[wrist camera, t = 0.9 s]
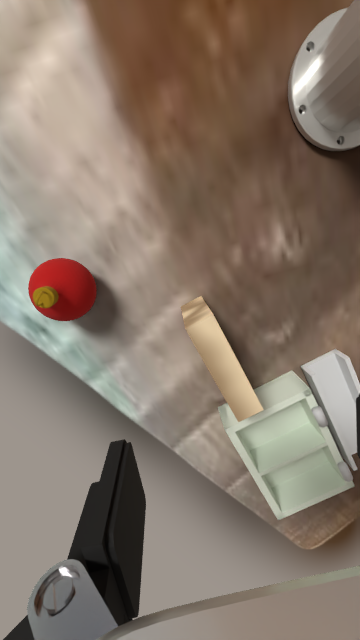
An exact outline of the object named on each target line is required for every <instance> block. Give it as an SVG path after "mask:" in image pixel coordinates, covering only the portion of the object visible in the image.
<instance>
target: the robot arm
mask: <svg viewBox="0 0 360 640" xmlns="http://www.w3.org/2000/svg"><path fill="white" fill-rule="evenodd" d="M288 100H289V108H290V112H291V115H292V118H293V121H294V123H295V125H296V126H297V128H298V130H299V131H300V133H301V134H302V135H303V136H304V137H305V139H307V140H308V141H309V142H310V143H312V144H313V145H315V146H317V147H319V148H321V149H324V150H329V151H345V150H349V149H353V148H355V147H357V146H360V0H354V1H353V2H352V4H351V5H350V6H349V8H345V9H341V10H339V11H337V12H335V13H333V14H331V15H329V16H328V17H326V18H325V19H324V20H322V21H321V22H320V23H319V24H318V25H317V26H316V27H315V28H314V29H313V30H312V31H311V32H310V34H309V35H308V37H307V38H306V40H305V41H304V42H303V44H302V46H301V47H300V49H299V51H298V53H297V55H296V57H295V59H294V62H293V65H292V68H291V72H290V77H289V82H288ZM299 111H300V113H301V114H300V113H299ZM337 142H338V143H337ZM356 427H357V454H358V456H359V458H360V394H359V397H357V398H356ZM145 510H146V500H145V494H144V490H143V486H142V482H141V478H140V475H139V471H138V467H137V463H136V460H135V456H134V452H133V448H132V445H131V443H130V442H129V443H127V442H126V441H125V440H120V441H115V442H111V443H110V446H109V449H108V453H107V456H106V460H105V464H104V468H103V471H102V474H101V478H100V481H99V482H95V483H92V484H91V486H90V489H89V492H88V495H87V498H86V501H85V505H84V508H83V511H82V514H81V517H80V521H79V524H78V527H77V530H76V533H75V536H74V540H73V543H72V546H71V549H70V553H69V556H68V559H67V560H64V561H62V562H59V563H57V564H56V565H54V566H53V567H52V568H50V569H49V570H48V571H47V572H46V573H45V574H44V575H43V576H42V577H41V578H40V580H39V581H38V583H37V584H36V585H35V587H34V589H33V591H32V594H31V596H30V598H29V602H28V607H27V612H28V615H27V616H26V617H25V618H24V619H23V620H22V621H21V622H20V623H19V624H18V625H17V626H16V627H15V628H14V629H13V630H12V631H11V632H10V633H9V634H8V635H7V636H6V637H5V638H4V639H3V640H360V566H357V567H352V568H347V569H343V570H337V571H333V572H328V573H324V574H319V575H314V576H309V577H305V578H301V579H296V580H291V581H287V582H282V583H277V584H273V585H268V586H264V587H259V588H255V589H250V590H246V591H241V592H236V593H232V594H228V595H223V596H218V597H214V598H210V599H206V600H202V601H198V602H194V603H190V604H186V605H182V606H177V607H173V608H169V609H165V610H162V611H159V612H155V613H152V614H149V615H146V616H142V617H140V618H137V619H135V620H132V618H135V617H137V616H138V612H139V599H140V585H141V569H142V555H143V540H144V524H145Z"/></svg>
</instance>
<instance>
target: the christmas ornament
mask: <svg viewBox="0 0 360 640" xmlns="http://www.w3.org/2000/svg"><path fill="white" fill-rule="evenodd" d="M28 289H29V296H30V299H31V301H32V303H33V305H34V306H35V308H36V309H37V310H38V311H39V312H40V313H42V314H43V315H44V316H46V317H48V318H51V319H54V320H58V321H70V320H74V319H77V318H80V317H81V316H83V315H84V314H86V313H87V312H88V311H89V310H90V309H91V307H92V306H93V304H94V302H95V299H96V291H97V290H96V284H95V280H94V278H93V276H92V274H91V273H90V272H89V270H88V269H87V268H85V267H84V266H83V265H82V264H80V263H78V262H76V261H74V260H70V259H65V258H57V259H52V260H48V261H46V262H44V263H43V264H41V265H40V266H38V267H37V268H36V269H35V271H34V272H33V274H32V275H31V278H30V281H29V288H28Z"/></svg>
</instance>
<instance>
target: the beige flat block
mask: <svg viewBox="0 0 360 640" xmlns="http://www.w3.org/2000/svg"><path fill="white" fill-rule="evenodd" d="M181 310H182V315H183V319H184V324H185V329H186V331H187V333H188V334H189V336H190V338H191V340H192V342H193V343H194V345H195V347H196V349H197V350H198V352H199V354H200V356H201V357H202V359H203V361H204V363H205V364H206V366H207V368H208V370H209V372H210V373H211V375H212V377H213V379H214V380H215V382H216V384H217V386H218V387H219V389H220V391H221V393H222V394H223V396H224V398H225V400H226V401H227V403H228V405H229V407H230V408H231V410H232V412H233V414H234V415H235V417H236V419H237V421H238V422H240V421H242V420H244V419H246V418H248V417H250V416H253V415H255V414H257V413H259V412H261V411H263V410H264V409H263V407H262V406H261V404H260V401H259V400H258V398H257V396H256V394H255V392H254V390H253V388H252V386H251V384H250V383H249V381H248V379H247V377H246V375H245V373H244V371H243V369H242V367H241V365H240V364H239V362H238V360H237V358H236V356H235V354H234V352H233V350H232V348H231V347H230V345H229V343H228V341H227V339H226V337H225V335H224V333H223V331H222V330H221V328H220V326H219V324H218V322H217V320H216V319H215V317H214V315H213V313H212V312H211V310H210V309H209V307H208V306H207V304H206V303H205V301H204V300H203V298H202V297H201V296H200V297H198V298H196V299H194V300H193V301H191V302H189V303H187V304H185V305H183V306H182V307H181Z"/></svg>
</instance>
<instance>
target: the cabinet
mask: <svg viewBox="0 0 360 640" xmlns="http://www.w3.org/2000/svg"><path fill="white" fill-rule="evenodd" d="M300 367H301V369H302V371H303V373H304V376H305V378H306V380H307V382H308V384H309V386H310V388H309V387H308V386H307V385H306V384H305V383H304V382H303V381H302V380H301V379H300V378H299V377H298V376H297V375H296V374H295V373H294V372H293V371H290V372H288V373H286V374H284V375H282V376H280V377H278V378H276V379H274V380H272V381H270V382H268V383H266V384H264V385H262V386H260V387H258V388H256V389H254V392H255V394H256V396H257V398H258V400H259V401H260V404H261V406H262V407H263V409H264V410H263V411H261V412H259V413H257V414H255V415H253V416H250V417H248V418H246V419H244V420H242V421H240V422H238V421H237V419H236V417H235V415H234V414H233V412H232V410H231V408H230V407H229V405H228V403H226V404H224V405H222V406H220V407H218V410H219V413H220V416H221V419H222V423H223V426H224V429H225V431H226V433H227V434H228V436H229V438H230V439H231V441H232V443H233V445H234V446H235V448H236V450H237V451H238V453H239V455H240V456H241V458H242V460H243V461H244V463H245V465H246V467H247V468H248V470H249V472H250V473H251V475H252V477H253V478H254V480H255V482H256V483H257V485H258V487H259V489H260V490H261V492H262V494H263V495H264V497H265V499H266V500H267V502H268V504H269V505H270V507H271V509H272V510H273V512H274V514H275V516H276V517H277V519H278V520H280V519H282V518H285V517H287V516H289V515H291V514H294V513H296V512H298V511H300V510H303V509H305V508H307V507H309V506H312V505H314V504H316V503H318V502H321V501H323V500H325V499H327V498H330V497H332V496H334V495H336V494H339V493H341V492H343V491H345V490H348V489H350V488H352V487H354V486H355V485H354V483H353V481H352V480H353V476H352V474H351V472H350V470H349V468H348V465H349V466H350V467H351V468H352V469H353V471H355V470H357V467H356V464H355V462H354V460H353V458H352V455H353V454H355V453H357V427H356V398H357V397H359V394H360V383H359V381H358V378H357V376H356V373H355V371H354V368H353V366H352V363H351V361H350V358H349V357H348V356H346V355H345V354H343V353H341V352H340V351H338V350H336V349H334V350H332V351H330V352H328V353H326V354H324V355H322V356H320V357H318V358H316V359H314V360H312V361H310V362H308V363H306V364H304V365H302V366H300ZM311 391H312V392H311ZM312 393H313V394H312ZM313 395H314V396H313ZM314 397H315V398H314ZM316 402H317V403H316ZM317 404H318V405H317ZM327 426H328V427H327ZM328 428H329V429H328ZM329 430H330V431H329ZM330 432H331V433H330ZM331 434H332V435H331ZM333 439H334V440H333ZM334 441H335V442H334ZM335 443H336V444H335ZM336 445H337V446H336ZM338 450H339V451H338ZM339 452H340V453H339ZM340 454H341V455H340ZM341 456H342V457H343V459H344V460H345V461H346V462H347V463H348V465H347V463H345V462H344V461H343V459H342V457H341Z"/></svg>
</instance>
